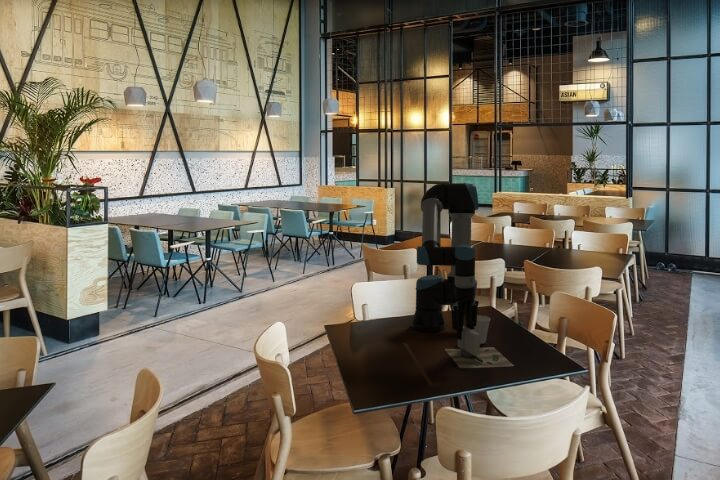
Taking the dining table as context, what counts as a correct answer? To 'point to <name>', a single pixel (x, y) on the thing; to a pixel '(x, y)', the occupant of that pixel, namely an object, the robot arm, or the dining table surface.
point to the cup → (482, 327)
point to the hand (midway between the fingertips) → (464, 346)
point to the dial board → (486, 354)
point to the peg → (471, 344)
